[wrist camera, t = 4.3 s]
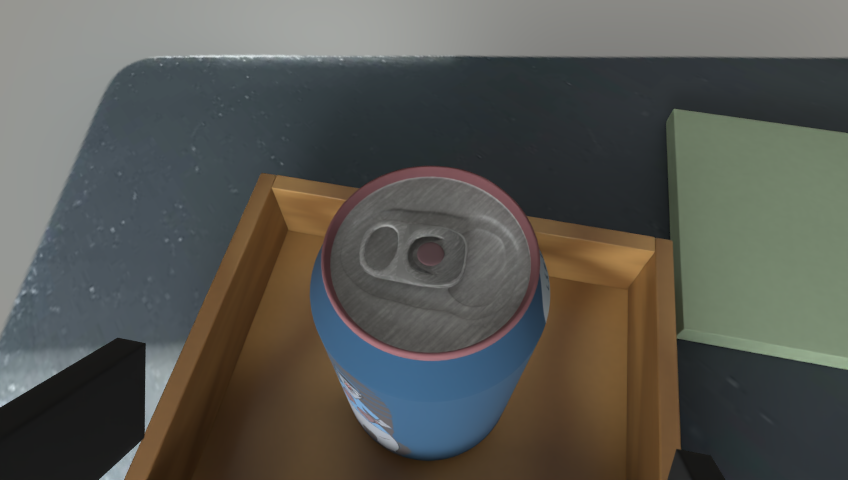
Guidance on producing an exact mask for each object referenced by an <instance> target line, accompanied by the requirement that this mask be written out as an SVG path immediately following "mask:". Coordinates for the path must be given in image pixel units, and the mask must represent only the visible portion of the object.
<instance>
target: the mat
mask: <svg viewBox="0 0 848 480" xmlns="http://www.w3.org/2000/svg"><path fill="white" fill-rule="evenodd" d="M666 134H667V161H668V188H669V215H670V240H672V241H673V259H674V284H675V310H676V335H677V339H682V340H688V341H693V342H699V343H704V344H710V345H715V346H721V347H726V348H732V349H737V350H743V351H748V352H754V353H759V354H764V355H770V356H775V357H781V358H786V359H792V360H797V361H803V362H808V363H814V364H819V365H825V366H830V367H836V368H841V369H847V370H848V133H842V132H835V131H828V130H821V129H814V128H807V127H800V126H793V125H785V124H778V123H771V122H764V121H757V120H750V119H743V118H736V117H729V116H722V115H714V114H707V113H700V112H693V111H686V110H679V109H673V111H672V113H671V114H670V116H669V118H668V120H667V122H666Z"/></svg>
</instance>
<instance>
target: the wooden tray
mask: <svg viewBox="0 0 848 480" xmlns="http://www.w3.org/2000/svg"><path fill="white" fill-rule="evenodd" d="M358 189H359V188H353V187H347V186H341V185H335V184H329V183H323V182H317V181H311V180H305V179H299V178H293V177H287V176H281V175H277V176H276V175H272V174H266V173H261V175H260V177H259V179H258V181H257V184H256V186H255V188H254V190H253V193H252V195H251V197H250V199H249V202H248V204H247V206H246V208H245V210H244V213H243V215H242V217H241V219H240V222H239V224H238V226H237V228H236V231H235V233H234V235H233V237H232V240H231V242H230V244H229V246H228V248H227V251H226V253H225V255H224V257H223V260H222V262H221V264H220V266H219V269H218V271H217V273H216V275H215V278H214V280H213V282H212V284H211V286H210V289H209V291H208V293H207V295H206V298H205V300H204V302H203V304H202V307H201V309H200V311H199V313H198V316H197V318H196V320H195V322H194V325H193V327H192V329H191V331H190V333H189V336H188V338H187V340H186V342H185V345H184V347H183V349H182V351H181V354H180V356H179V358H178V360H177V363H176V365H175V367H174V369H173V371H172V374H171V376H170V378H169V380H168V383H167V385H166V387H165V389H164V392H163V394H162V396H161V398H160V401H159V403H158V405H157V407H156V410H155V412H154V414H153V416H152V418H151V421H150V423H149V425H148V427H147V430H146V432H145V434H144V438H143V439H142V441H141V443H140V445H139V448H138V450H137V452H136V454H135V456H134V459H133V461H132V463H131V465H130V468H129V470H128V472H127V474H126V477H125V479H124V480H667V479H668V476H669V472H670V469H671V466H672V462H673V459H674V455H675V452H676V449H680V450H681V436H680V411H679V385H678V360H677V335H676V310H675V284H674V259H673V241H672V240H667V239H660V238H654V237H651V236H645V235H639V234H633V233H627V232H621V231H615V230H608V229H602V228H596V227H590V226H584V225H578V224H572V223H566V222H560V221H554V220H548V219H542V218H536V217H530V216H527V218H528V219H529V221H530V223H531V225H532V227H533V229H534V232H535V235H536V238H537V241H538V245H539V249H540V251H541V253H542V256H543V258H544V261H545V264H546V267H547V271H548V276H549V282H550V306H549V313H548V317H547V321H546V324H545V328H544V330H543V333H542V335H541V337H540V339H539V341H538V343H537V345H536V347H535V349H534V351H533V353H532V355H531V357H530V359H529V361H528V363H527V365H526V367H525V369H524V371H523V373H522V375H521V377H520V379H519V381H518V383H517V385H516V387H515V389H514V391H513V393H512V395H511V397H510V399H509V401H508V403H507V405H506V407H505V409H504V411H503V413H502V415H501V417H500V419H499V421H498V423H497V424H496V426H495V427H494V428H493V430H492V431H491V432H490V433H489V434H488V436H487V437H486V438H485V439H483V440H482V441H481V442H480V443H479V444H478V445H476V446H475V447H473V448H472V449H470V450H468V451H466V452H464V453H462V454H460V455H457V456H455V457H451V458H448V459H443V460H435V461H421V460H414V459H409V458H405V457H402V456H399V455H397V454H394V453H392V452H390V451H388V450H387V449H385V448H384V447H382V446H381V445H379V444H378V443H377V442H375V441H374V440H373V439H372V438H371V437H370V436H369V435H368V434H367V433H366V432H365V430H364V429H363V428H362V426H361V425H360V423H359V422H358V420H357V418H356V417H355V414H354V412H353V410H352V408H351V406H350V403H349V401H348V399H347V397H346V394H345V392H344V390H343V388H342V385H341V383H340V381H339V379H338V376H337V374H336V372H335V370H334V367H333V365H332V363H331V361H330V358H329V356H328V354H327V352H326V349H325V347H324V345H323V343H322V340H321V338H320V336H319V334H318V331H317V329H316V326H315V323H314V320H313V316H312V311H311V305H310V282H311V275H312V270H313V267H314V263H315V260H316V257H317V255H318V253H319V250H320V248H321V246H322V244H323V241H324V238H325V234H326V232H327V229H328V227H329V225H330V222H331V221H332V219H333V217H334V215H335V214H336V212H337V211H338V209H339V208H340V207H341V206H342V204H343V203H344V202H345V201H346V200H347V199H348V198H349V197H350V196H351V195H352V194H353V193H354V192H356V191H357V190H358Z"/></svg>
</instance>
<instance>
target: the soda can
mask: <svg viewBox="0 0 848 480" xmlns="http://www.w3.org/2000/svg"><path fill="white" fill-rule="evenodd" d="M310 305H311V311H312V316H313V320H314V323H315V326H316V329H317V331H318V334H319V336H320V338H321V340H322V343H323V345H324V347H325V349H326V352H327V354H328V356H329V358H330V361H331V363H332V365H333V367H334V370H335V372H336V374H337V376H338V379H339V381H340V383H341V385H342V388H343V390H344V392H345V394H346V397H347V399H348V401H349V403H350V406H351V408H352V410H353V412H354V414H355V417H356V418H357V420H358V422H359V423H360V425H361V426H362V428H363V429H364V430H365V432H366V433H367V434H368V435H369V436H370V437H371V438H372V439H373V440H374V441H375V442H377V443H378V444H379V445H381V446H382V447H384V448H385V449H387V450H388V451H390V452H392V453H394V454H397V455H399V456H402V457H405V458H409V459H414V460H421V461H435V460H443V459H448V458H451V457H455V456H457V455H460V454H462V453H464V452H466V451H468V450H470V449H472V448H473V447H475V446H476V445H478V444H479V443H480V442H481V441H482V440H483V439H485V438H486V437H487V436H488V434H489V433H490V432H491V431H492V430H493V428H494V427H495V426H496V424H497V423H498V421H499V419H500V417H501V415H502V413H503V411H504V409H505V407H506V405H507V403H508V401H509V399H510V397H511V395H512V393H513V391H514V389H515V387H516V385H517V383H518V381H519V379H520V377H521V375H522V373H523V371H524V369H525V367H526V365H527V363H528V361H529V359H530V357H531V355H532V353H533V351H534V349H535V347H536V345H537V343H538V341H539V339H540V337H541V335H542V333H543V330H544V328H545V324H546V321H547V317H548V313H549V306H550V282H549V276H548V271H547V267H546V264H545V261H544V258H543V256H542V253H541V251H540V249H539V245H538V241H537V238H536V235H535V232H534V229H533V227H532V225H531V223H530V221H529V219H528V218H527V216H526V214H525V213H524V211H523V210H522V209H521V207H520V206H519V205H518V204H517V203H516V202H515V200H514V199H513V198H512V197H511V196H510V195H508V194H507V193H506V192H505V191H504V190H502V189H501V188H500V187H499V186H497V185H496V184H494V183H493V182H491V181H489V180H488V179H486V178H484V177H482V176H480V175H477V174H475V173H472V172H469V171H466V170H462V169H457V168H452V167H444V166H417V167H409V168H404V169H400V170H396V171H393V172H390V173H387V174H385V175H382V176H380V177H378V178H376V179H374V180H372V181H370V182H368V183H367V184H365V185H364V186H362V187H361V188H359V189H358V190H357V191H356V192H354V193H353V194H352V195H351V196H350V197H349V198H348V199H347V200H346V201H345V202H344V203H343V204H342V206H341V207H340V208H339V209H338V211H337V212H336V214H335V215H334V217H333V219H332V221H331V222H330V225H329V227H328V229H327V232H326V234H325V238H324V241H323V244H322V246H321V248H320V250H319V253H318V255H317V257H316V260H315V263H314V267H313V270H312V275H311V282H310Z"/></svg>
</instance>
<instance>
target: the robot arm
mask: <svg viewBox="0 0 848 480" xmlns="http://www.w3.org/2000/svg"><path fill="white" fill-rule="evenodd" d="M145 349H146V343H142V342H137V341H132V340H127V339H122V338H116V339H115V340H113V341H111V342H110V343H108V344H106V345H105V346H103V347H101V348H100V349H98V350H96V351H94V352H93V353H91V354H89V355H88V356H86V357H84V358H83V359H81V360H79V361H78V362H76V363H74V364H73V365H71V366H69V367H68V368H66V369H64V370H63V371H61V372H59V373H58V374H56V375H54V376H52V377H51V378H49V379H47V380H46V381H44V382H42V383H41V384H39V385H37V386H36V387H34V388H32V389H31V390H29V391H27V392H26V393H24V394H22V395H21V396H19V397H17V398H16V399H14V400H12V401H10V402H9V403H7V404H5V405H4V406H2V407H0V480H99V479H100V478H101V477H102V476H103V475H104V474H105V473H107V472H108V471H109V470H110V469H111V468H112V467H113V466H114V465H115V464H116V463H117V462H119V461H120V460H121V459H122V458H123V457H124V456H125V455H126V454H127V453H128V452H129V451H130V450H132V449H133V448H134V447H135V446H136V445H137V444H138V443H139V442H140V441H141V440H142V439H143V438H144V433H145ZM667 480H725V478H724V477H723V475H722V473H721V472H720V470H719V468H718V467H717V465H716V463H715V462H714V460H713V458H712V457H711V456H710V455H705V454H700V453H695V452H690V451H685V450H680V449H676V452H675V455H674V459H673V462H672V466H671V469H670V472H669V476H668V479H667Z"/></svg>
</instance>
